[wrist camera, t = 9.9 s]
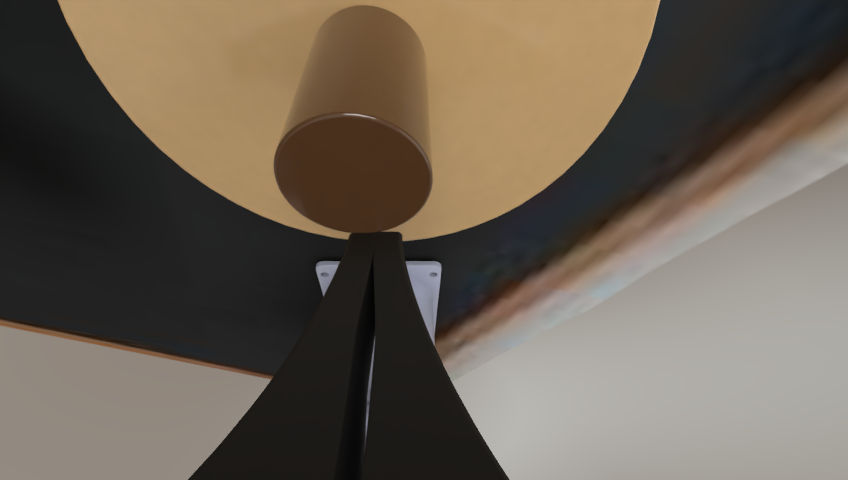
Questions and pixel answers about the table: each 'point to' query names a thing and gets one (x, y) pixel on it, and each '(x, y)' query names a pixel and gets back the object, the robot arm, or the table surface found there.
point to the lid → (368, 99)
